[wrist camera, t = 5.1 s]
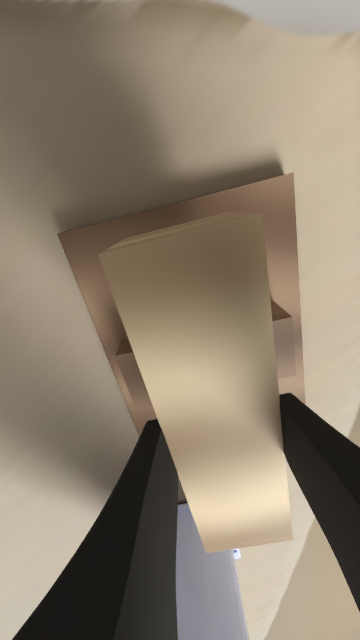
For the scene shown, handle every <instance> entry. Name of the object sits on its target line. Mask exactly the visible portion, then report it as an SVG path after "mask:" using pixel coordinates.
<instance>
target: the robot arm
mask: <svg viewBox="0 0 360 640" xmlns="http://www.w3.org/2000/svg"><path fill="white" fill-rule="evenodd" d="M279 398H280V404H279V405H280V416H281V426H282V437H283V447H284V454H285V457H286V459H287V462H288V464H289V466H290V468H291V470H292V472H293V474H294V476H295V478H296V480H297V482H298V484H299V486H300V488H301V490H302V492H303V494H304V496H305V498H306V499H307V501H308V503H309V505H310V507H311V509H312V511H313V513H314V515H315V517H316V519H317V521H318V522H319V524H320V526H321V528H322V530H323V532H324V534H325V536H326V538H327V540H328V542H329V544H330V546H331V548H332V550H333V552H334V554H335V556H336V558H337V560H338V563H339V565H340V567H341V570H342V572H343V574H344V577H345V579H346V581H347V584H348V586H349V588H350V590H351V593H352V595H353V597H354V599H355V602H356V604H357V607H358V609H359V611H360V447H358V446H357V445H355V444H354V443H353V442H351V441H350V440H349V439H347V438H346V437H345V436H344V435H342V434H341V433H340V432H338V431H337V430H336V429H334V428H333V427H332V426H331V425H329V424H328V423H327V422H326V421H324V420H323V419H322V418H321V417H319V416H318V415H317V414H316V413H314V412H313V411H312V410H311V409H310V408H309V407H307V406H306V405H305V404H304V403H303V402H301V401H300V400H299V399H298V398H297V397H296V396H295V395H293V394H292V393H285V394H280V395H279ZM240 557H241V554H240V549H239V548H237V549H231V550H225V551H218V552H212V553H206V551H205V548H204V546H203V543H202V540H201V537H200V535H199V532H198V529H197V526H196V524H195V521H194V518H193V515H192V513H191V510H190V507H189V504H188V503H186V504H180V505H178V472H177V470H176V467H175V464H174V461H173V459H172V456H171V453H170V450H169V447H168V445H167V442H166V439H165V436H164V434H163V431H162V428H161V427H160V424H159V422H158V419H154V420H149V421H147V422H146V424H145V426H144V428H143V430H142V433H141V435H140V437H139V439H138V442H137V444H136V446H135V448H134V450H133V452H132V454H131V457H130V459H129V461H128V463H127V465H126V467H125V469H124V470H123V472H122V474H121V476H120V478H119V480H118V482H117V484H116V486H115V488H114V489H113V491H112V493H111V495H110V497H109V498H108V500H107V502H106V504H105V506H104V507H103V509H102V511H101V513H100V514H99V516H98V518H97V519H96V521H95V523H94V524H93V526H92V528H91V529H90V531H89V532H88V534H87V535H86V537H85V539H84V540H83V542H82V543H81V545H80V546H79V548H78V549H77V551H76V553H75V554H74V555H73V557H72V558H71V560H70V561H69V563H68V564H67V566H66V567H65V569H64V570H63V571H62V573H61V574H60V576H59V577H58V579H57V580H56V582H55V583H54V585H53V586H52V587H51V589H50V590H49V591H48V593H47V594H46V596H45V597H44V598H43V600H42V601H41V602H40V604H39V605H38V607H37V608H36V609H35V610H34V612H33V613H32V614H31V616H30V617H29V618H28V620H27V621H26V622H25V623H24V625H23V626H22V627H21V629H20V630H19V631H18V633H17V634H16V635H15V637H14V638H13V639H12V640H249V636H248V630H247V625H246V619H245V613H244V608H243V602H242V596H241V591H240V585H239V579H238V574H237V568H236V563H235V559H239V558H240Z"/></svg>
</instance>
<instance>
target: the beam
mask: <svg viewBox="0 0 360 640" xmlns="http://www.w3.org/2000/svg"><path fill="white" fill-rule="evenodd" d="M98 256H99V259H100V262H101V265H102V267H103V270H104V273H105V276H106V278H107V281H108V284H109V287H110V289H111V292H112V295H113V298H114V300H115V303H116V306H117V309H118V311H119V314H120V317H121V320H122V322H123V325H124V328H125V331H126V333H127V336H128V339H129V342H130V344H131V347H132V350H133V353H134V355H135V358H136V361H137V364H138V367H139V369H140V372H141V375H142V378H143V380H144V383H145V386H146V389H147V391H148V394H149V397H150V400H151V402H152V405H153V408H154V411H155V413H156V416H157V419H158V422H159V424H160V427H161V428H162V431H163V434H164V436H165V439H166V442H167V445H168V447H169V450H170V453H171V456H172V459H173V461H174V464H175V467H176V470H177V472H178V477H179V480H180V482H181V485H182V488H183V491H184V493H185V496H186V499H187V502H188V504H189V507H190V510H191V513H192V515H193V518H194V521H195V524H196V526H197V529H198V532H199V535H200V537H201V540H202V543H203V546H204V548H205V551H206V553H212V552H218V551H225V550H231V549H237V548H244V547H250V546H256V545H263V544H269V543H276V542H282V541H288V540H293V538H292V527H291V516H290V505H289V495H288V484H287V473H286V462H285V454H284V447H283V437H282V426H281V416H280V405H279V404H280V398H279V387H278V376H277V365H276V354H275V344H274V333H273V322H272V311H271V301H270V290H269V279H268V268H267V257H266V247H265V236H264V225H263V214H262V213H240V212H226V213H222V214H219V215H215V216H211V217H207V218H203V219H199V220H195V221H191V222H187V223H183V224H179V225H175V226H171V227H167V228H163V229H159V230H156V231H152V232H148V233H144V234H140V235H136V236H132V237H128V238H125V239H124V240H122V241H120V242H118V243H117V244H115V245H113V246H111V247H110V248H108V249H106V250H105V251H103V252H101V253H99V254H98Z"/></svg>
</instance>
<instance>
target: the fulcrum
mask: <svg viewBox="0 0 360 640" xmlns="http://www.w3.org/2000/svg"><path fill="white" fill-rule="evenodd" d="M226 212H240V213H262V214H263V225H264V236H265V247H266V257H267V268H268V279H269V290H270V301H271V311H272V322H273V333H274V344H275V354H276V365H277V376H278V387H279V395H280V394H285V393H292V394H293V395H295V396H296V397H297V398H298V399H299V400H300V401H301V402H303V403H304V404H305V389H304V370H303V350H302V331H301V311H300V292H299V272H298V253H297V233H296V214H295V194H294V175H293V173H290V174H286V175H282V176H278V177H274V178H270V179H267V180H263V181H259V182H255V183H251V184H247V185H243V186H240V187H236V188H232V189H228V190H224V191H220V192H217V193H213V194H209V195H205V196H201V197H197V198H193V199H190V200H186V201H182V202H178V203H174V204H170V205H167V206H163V207H159V208H155V209H151V210H147V211H143V212H140V213H136V214H132V215H128V216H124V217H120V218H117V219H113V220H109V221H105V222H101V223H97V224H94V225H90V226H86V227H82V228H78V229H74V230H70V231H67V232H63V233H59V234H58V236H59V239H60V241H61V244H62V246H63V249H64V251H65V254H66V256H67V259H68V261H69V263H70V266H71V268H72V271H73V273H74V276H75V278H76V281H77V283H78V286H79V288H80V291H81V293H82V296H83V298H84V300H85V303H86V305H87V308H88V310H89V313H90V315H91V318H92V320H93V323H94V325H95V328H96V330H97V333H98V335H99V338H100V340H101V342H102V345H103V347H104V350H105V352H106V355H107V357H108V360H109V362H110V365H111V367H112V370H113V372H114V375H115V377H116V379H117V382H118V384H119V387H120V389H121V392H122V394H123V397H124V399H125V402H126V404H127V407H128V409H129V412H130V414H131V417H132V419H133V421H134V424H135V426H136V429H137V431H138V434H139V436H140V435H141V433H142V430H143V428H144V426H145V424H146V422H147V421H149V420H154V419H157V416H156V413H155V411H154V408H153V405H152V402H151V400H150V397H149V394H148V391H147V389H146V386H145V383H144V380H143V378H142V375H141V372H140V369H139V367H138V364H137V361H136V358H135V355H134V353H133V350H132V347H131V344H130V342H129V339H128V336H127V333H126V331H125V328H124V325H123V322H122V320H121V317H120V314H119V311H118V309H117V306H116V303H115V300H114V298H113V295H112V292H111V289H110V287H109V284H108V281H107V278H106V276H105V273H104V270H103V267H102V265H101V262H100V259H99V256H98V254H99V253H101V252H103V251H105V250H106V249H108V248H110V247H111V246H113V245H115V244H117V243H118V242H120V241H122V240H124V239H125V238H128V237H132V236H136V235H140V234H144V233H148V232H152V231H156V230H159V229H163V228H167V227H171V226H175V225H179V224H183V223H187V222H191V221H195V220H199V219H203V218H207V217H211V216H215V215H219V214H222V213H226Z"/></svg>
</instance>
